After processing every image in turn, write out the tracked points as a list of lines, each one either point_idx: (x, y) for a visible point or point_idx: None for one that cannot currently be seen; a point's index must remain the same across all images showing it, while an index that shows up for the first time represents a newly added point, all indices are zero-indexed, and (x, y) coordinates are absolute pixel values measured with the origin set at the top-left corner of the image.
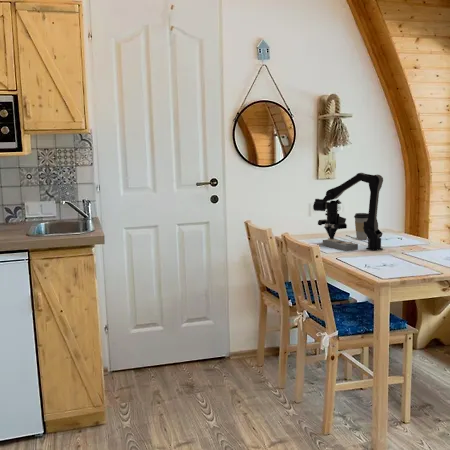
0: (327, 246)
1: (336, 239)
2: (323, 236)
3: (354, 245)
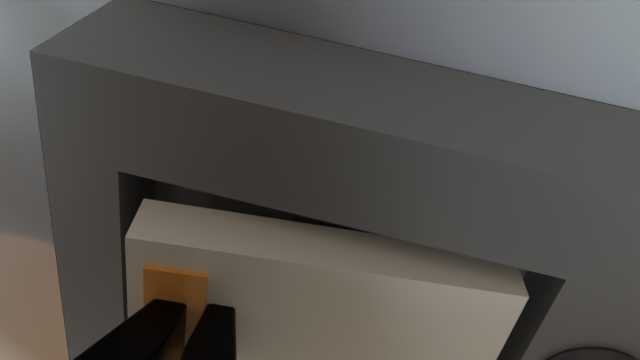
0: None
1: (336, 276)
2: None
3: None
